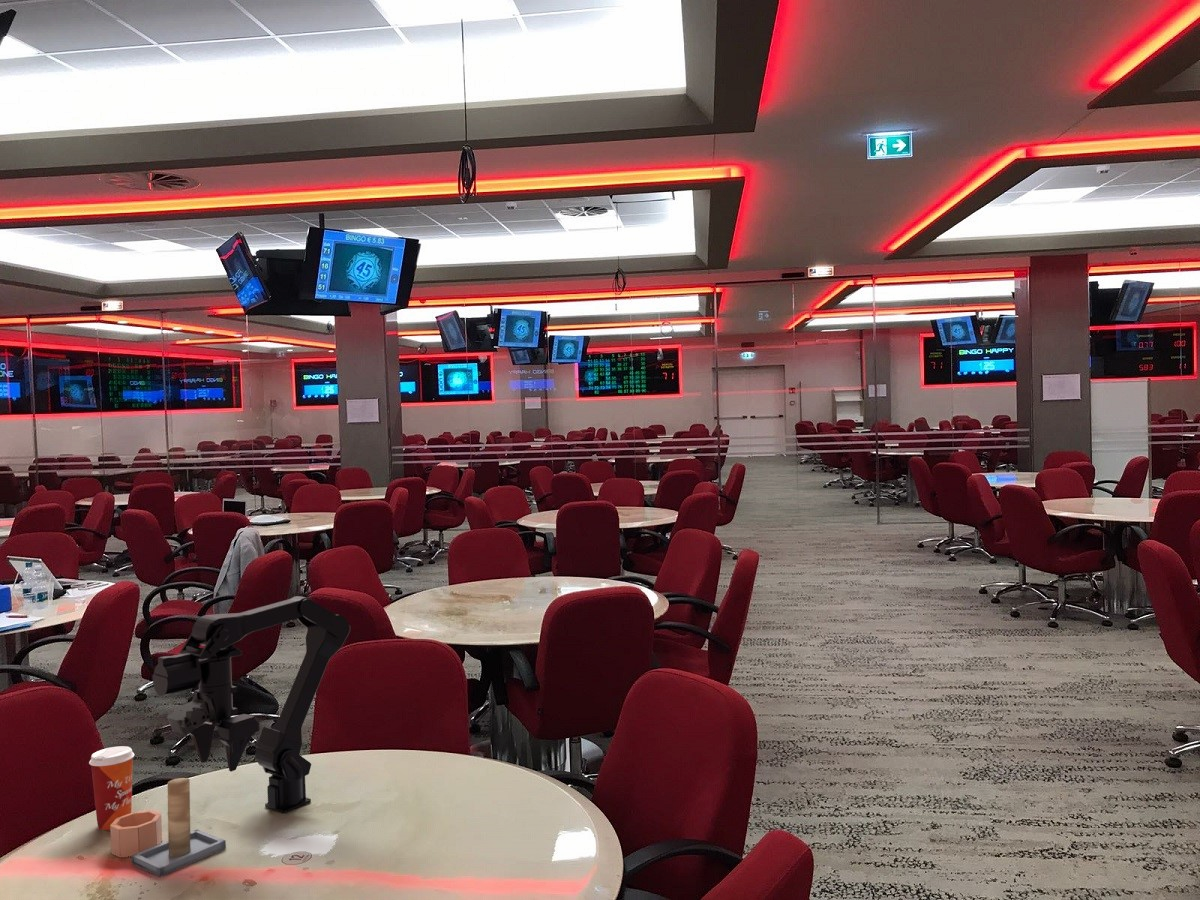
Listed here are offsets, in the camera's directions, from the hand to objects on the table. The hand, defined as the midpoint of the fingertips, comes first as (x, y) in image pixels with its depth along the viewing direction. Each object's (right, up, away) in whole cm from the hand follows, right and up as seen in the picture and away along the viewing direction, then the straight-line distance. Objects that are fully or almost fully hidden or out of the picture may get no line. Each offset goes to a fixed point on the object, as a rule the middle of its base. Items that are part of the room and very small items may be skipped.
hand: (218, 766), depth 164 cm
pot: (-12, -13, -6) cm, 18 cm away
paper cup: (-22, -13, +5) cm, 26 cm away
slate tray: (-2, -12, -10) cm, 16 cm away
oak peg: (-2, -12, -10) cm, 15 cm away
